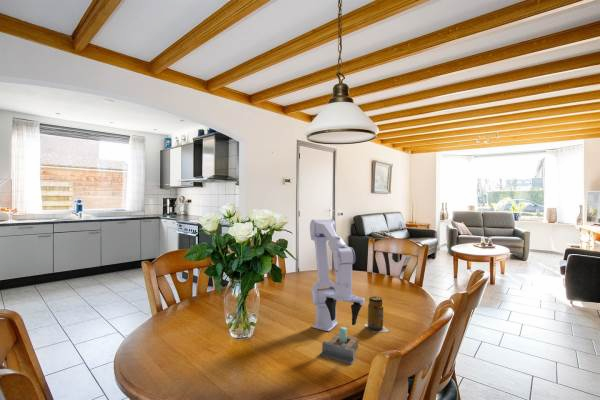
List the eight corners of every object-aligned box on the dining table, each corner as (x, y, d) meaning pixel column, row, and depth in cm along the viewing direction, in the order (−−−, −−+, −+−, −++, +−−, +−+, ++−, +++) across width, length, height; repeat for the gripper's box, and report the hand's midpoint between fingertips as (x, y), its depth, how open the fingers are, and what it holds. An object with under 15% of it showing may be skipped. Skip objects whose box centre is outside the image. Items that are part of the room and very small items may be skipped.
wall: (323, 351, 105) (324, 341, 105) (354, 359, 100) (354, 349, 100) (319, 355, 102) (320, 345, 102) (351, 364, 97) (351, 353, 97)
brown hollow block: (336, 342, 112) (336, 333, 112) (358, 348, 108) (358, 338, 108) (327, 352, 105) (328, 342, 105) (350, 358, 101) (350, 347, 101)
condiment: (379, 323, 130) (379, 295, 130) (389, 331, 121) (389, 301, 121) (363, 325, 128) (363, 296, 128) (373, 333, 120) (373, 303, 120)
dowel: (340, 346, 108) (341, 326, 108) (347, 348, 107) (348, 328, 107) (337, 349, 106) (338, 328, 106) (344, 351, 104) (345, 330, 104)
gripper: (319, 282, 106) (319, 321, 106) (360, 288, 99) (360, 330, 99) (328, 278, 112) (327, 314, 112) (366, 283, 105) (366, 323, 105)
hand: (343, 321), depth 106 cm, fingers open, 7 cm apart
